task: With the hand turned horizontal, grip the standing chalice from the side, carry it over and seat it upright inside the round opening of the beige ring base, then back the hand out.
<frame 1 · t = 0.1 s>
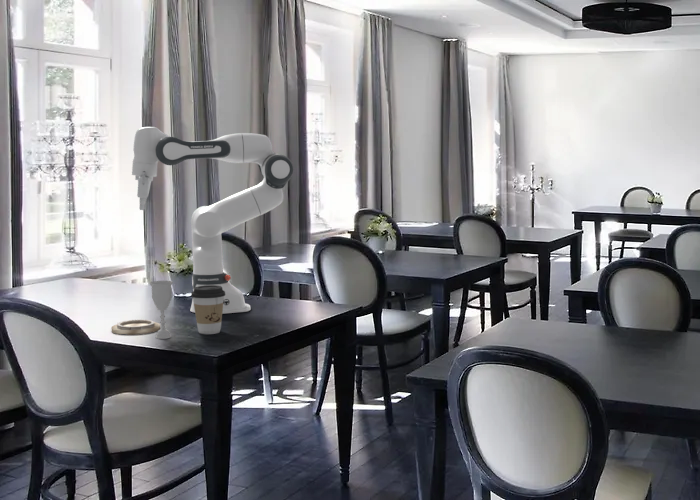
hand: (142, 209, 310), 39 cm above the table, tool pointing down, fingers open, 8 cm apart
chalice: (163, 337, 275), on the table
beige ring base: (136, 329, 287), on the table
coffee cup: (209, 332, 282), on the table
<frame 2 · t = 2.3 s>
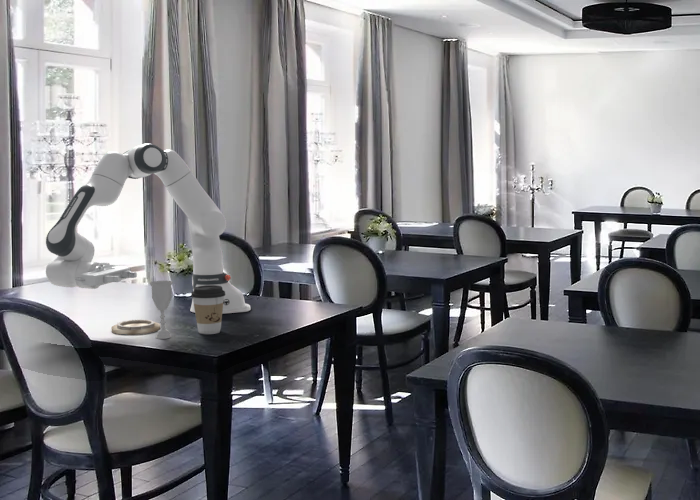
hand: (127, 277, 277), 19 cm above the table, tool horizontal, fingers open, 8 cm apart
nothing on the table moved.
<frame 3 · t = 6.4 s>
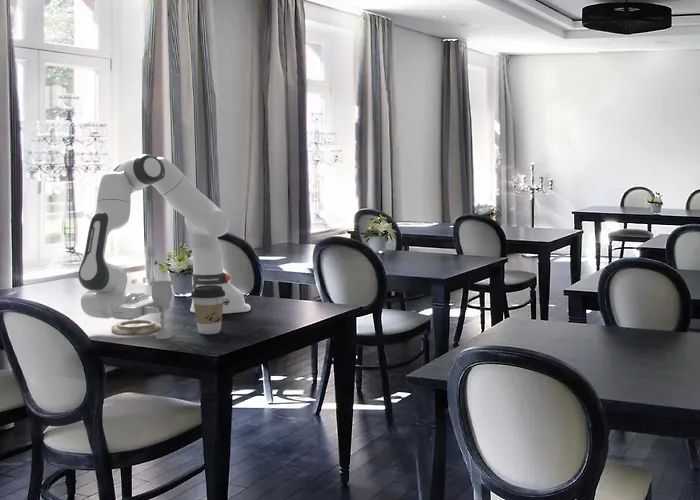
hand: (164, 308, 274), 10 cm above the table, tool horizontal, fingers closed on chalice, 5 cm apart
chalice: (163, 337, 275), on the table, touching gripper
everything else where it was.
when the fingers open (12 cm above the table, at t = 10.2 s): chalice stays where it is, resting on beige ring base.
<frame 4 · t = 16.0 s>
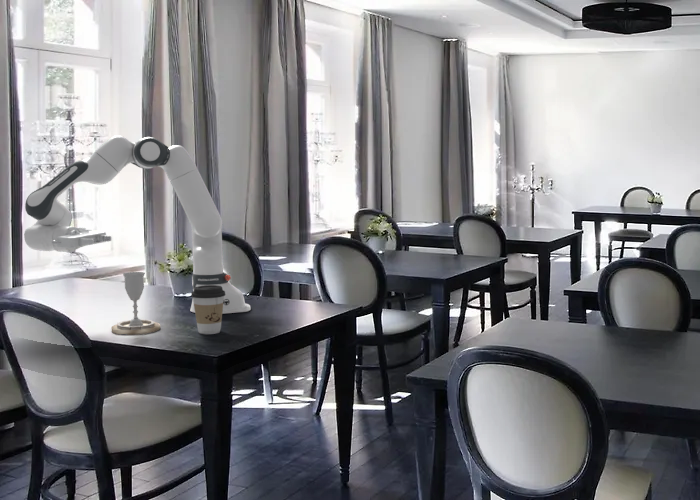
hand: (102, 240, 289), 30 cm above the table, tool horizontal, fingers open, 8 cm apart
chalice: (136, 326, 287), point 1 cm above the table, touching beige ring base
everything else where it was.
at the end: chalice 0.0 cm off-centre on the beige ring base, point 1.0 cm above the beige ring base's base; chalice tilted 0°; the gripper is holding nothing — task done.
